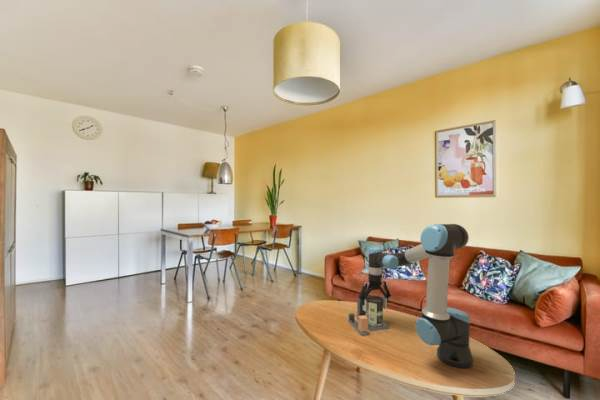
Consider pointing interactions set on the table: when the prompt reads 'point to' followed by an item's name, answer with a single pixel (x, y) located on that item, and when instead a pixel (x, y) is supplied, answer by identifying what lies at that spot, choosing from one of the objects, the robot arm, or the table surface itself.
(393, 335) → the table surface
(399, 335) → the table surface
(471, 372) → the table surface
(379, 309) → the coffee can
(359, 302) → the tray
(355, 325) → the rail
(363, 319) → the lever knob
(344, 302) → the table surface
